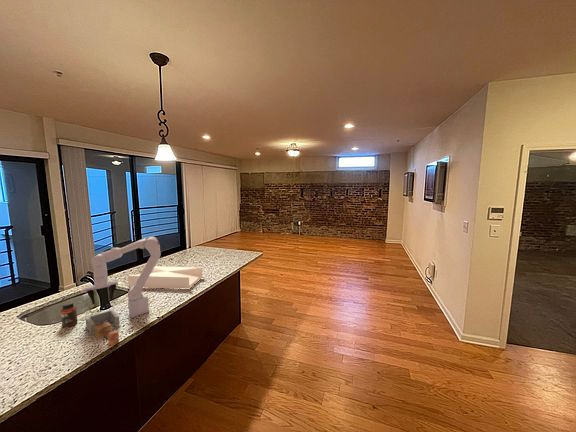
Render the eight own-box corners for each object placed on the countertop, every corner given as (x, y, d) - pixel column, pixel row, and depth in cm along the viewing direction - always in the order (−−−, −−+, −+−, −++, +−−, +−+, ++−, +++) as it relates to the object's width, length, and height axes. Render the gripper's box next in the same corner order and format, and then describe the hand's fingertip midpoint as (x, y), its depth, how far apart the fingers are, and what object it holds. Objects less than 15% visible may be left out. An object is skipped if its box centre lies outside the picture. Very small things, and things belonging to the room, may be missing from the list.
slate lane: (113, 317, 133) (112, 308, 133) (119, 325, 126) (118, 316, 125) (86, 326, 125) (85, 316, 124) (91, 335, 117) (90, 325, 116)
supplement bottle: (76, 320, 130) (74, 299, 129) (78, 324, 127) (77, 303, 126) (61, 324, 126) (59, 303, 125) (63, 328, 122) (61, 307, 121)
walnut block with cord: (107, 330, 121) (106, 320, 121) (121, 341, 112) (120, 330, 112) (95, 335, 117) (94, 325, 117) (108, 346, 108) (108, 336, 108)
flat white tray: (202, 279, 194) (202, 267, 193) (189, 290, 172) (189, 277, 171) (148, 277, 197) (147, 266, 196) (128, 288, 175) (127, 275, 174)
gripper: (114, 271, 138) (116, 294, 139) (81, 278, 127) (83, 303, 128) (118, 274, 133) (120, 298, 134) (84, 281, 122) (86, 307, 124)
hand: (102, 301), depth 131 cm, fingers open, 7 cm apart
